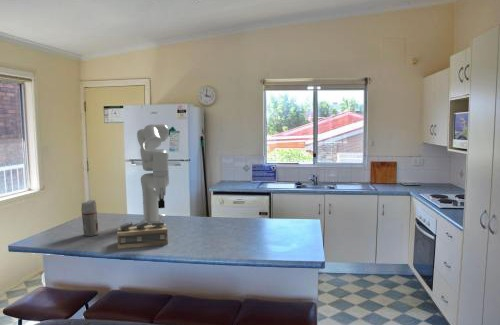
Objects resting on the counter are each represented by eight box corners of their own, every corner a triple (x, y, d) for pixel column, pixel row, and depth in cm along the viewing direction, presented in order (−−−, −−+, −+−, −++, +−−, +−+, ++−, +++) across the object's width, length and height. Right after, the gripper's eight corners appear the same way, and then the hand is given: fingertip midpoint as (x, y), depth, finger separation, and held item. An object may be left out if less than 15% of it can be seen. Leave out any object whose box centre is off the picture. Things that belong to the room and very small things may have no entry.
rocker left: (121, 228, 210) (120, 225, 210) (132, 224, 212) (131, 221, 211) (121, 230, 206) (120, 227, 206) (132, 226, 208) (131, 223, 207)
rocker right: (151, 223, 214) (151, 220, 214) (163, 223, 216) (163, 220, 216) (152, 225, 210) (152, 222, 210) (163, 225, 212) (163, 222, 212)
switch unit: (118, 241, 214) (117, 222, 213) (166, 237, 221) (165, 219, 220) (117, 249, 202) (116, 228, 201) (167, 244, 209) (167, 224, 208)
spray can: (93, 237, 224) (91, 202, 222) (80, 236, 225) (78, 201, 223) (101, 233, 232) (100, 199, 230) (89, 232, 234) (87, 198, 232)
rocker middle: (137, 226, 212) (136, 224, 212) (148, 223, 214) (147, 220, 213) (137, 228, 208) (136, 226, 208) (148, 224, 210) (147, 222, 209)
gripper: (152, 172, 217) (153, 205, 219) (153, 176, 203) (155, 211, 205) (166, 171, 219) (167, 204, 221) (168, 175, 205) (169, 210, 207)
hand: (161, 207), depth 213 cm, fingers closed
